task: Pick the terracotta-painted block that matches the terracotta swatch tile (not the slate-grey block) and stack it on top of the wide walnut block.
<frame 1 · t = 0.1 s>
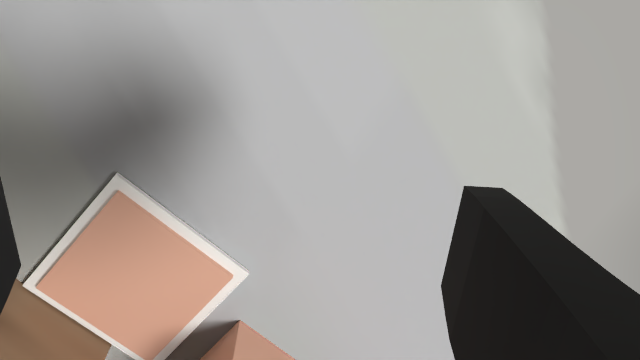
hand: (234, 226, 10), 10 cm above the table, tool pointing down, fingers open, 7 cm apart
walnut base block: (3, 344, 23), on the table
terracotta swatch tile: (137, 276, 22), on the table
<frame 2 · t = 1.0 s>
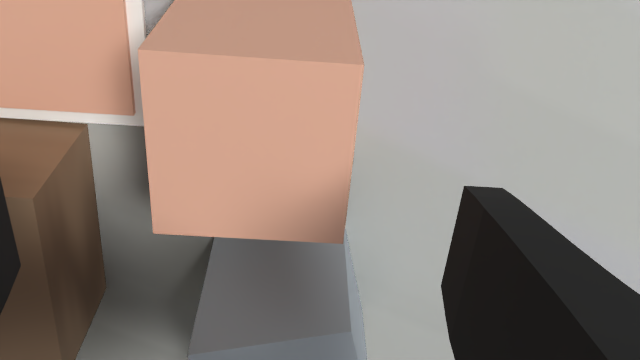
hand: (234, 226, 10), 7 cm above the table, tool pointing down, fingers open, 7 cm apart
slate grey block: (291, 271, 20), on the table
terracotta swatch tile: (28, 12, 15), on the table
terracotta block: (267, 64, 16), on the table
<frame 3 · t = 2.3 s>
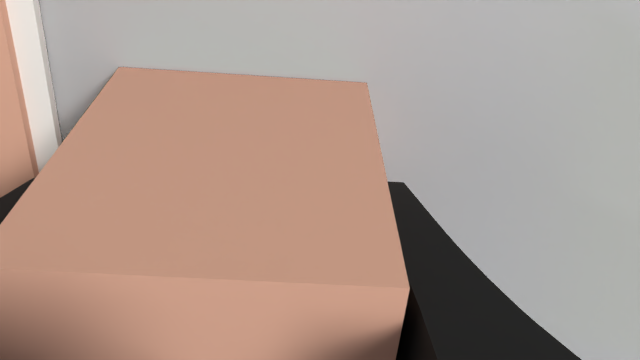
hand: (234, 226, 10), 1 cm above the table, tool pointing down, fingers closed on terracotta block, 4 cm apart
terracotta block: (243, 180, 11), on the table, touching gripper
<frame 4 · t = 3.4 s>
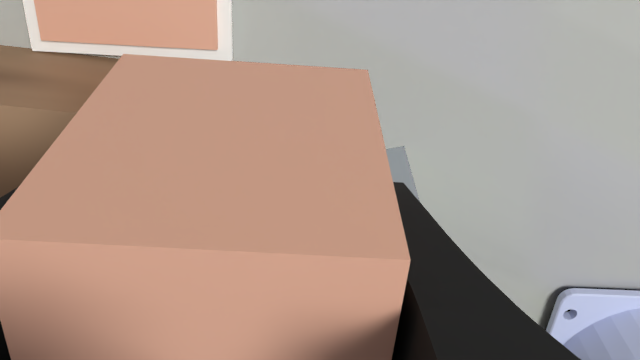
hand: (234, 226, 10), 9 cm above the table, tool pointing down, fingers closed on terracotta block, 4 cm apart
slate grey block: (353, 206, 21), on the table
walnut base block: (83, 140, 20), on the table
terracotta block: (245, 167, 11), point 8 cm above the table, touching gripper
when the fingers open (7 cm above the table, at t = 4.7 s): terracotta block drops 1 cm, resting on walnut base block.
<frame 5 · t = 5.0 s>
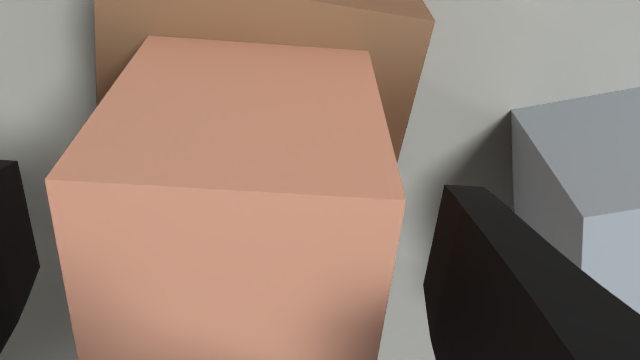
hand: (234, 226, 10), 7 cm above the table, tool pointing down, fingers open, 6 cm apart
slate grey block: (584, 160, 17), on the table
walnut base block: (263, 70, 15), on the table, touching terracotta block
terracotta block: (256, 140, 12), point 4 cm above the table, touching walnut base block
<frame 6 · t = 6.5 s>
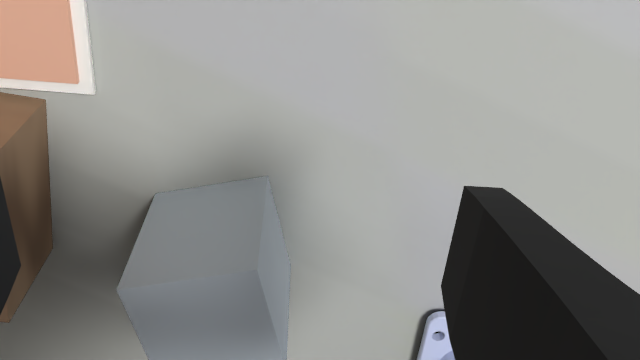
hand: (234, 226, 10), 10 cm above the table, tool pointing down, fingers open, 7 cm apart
slate grey block: (225, 230, 22), on the table
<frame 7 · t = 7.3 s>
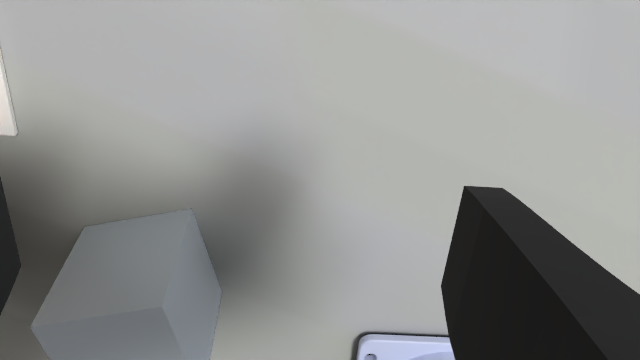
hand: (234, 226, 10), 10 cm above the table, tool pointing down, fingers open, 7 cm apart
slate grey block: (156, 260, 23), on the table
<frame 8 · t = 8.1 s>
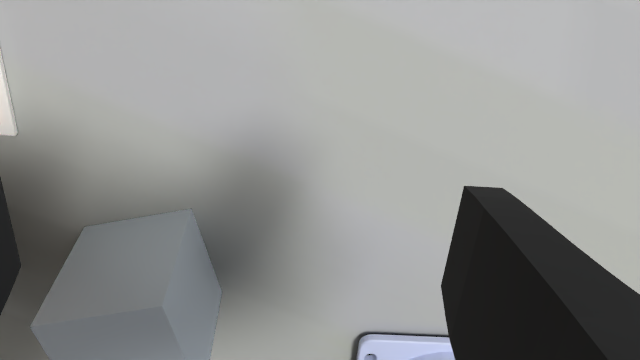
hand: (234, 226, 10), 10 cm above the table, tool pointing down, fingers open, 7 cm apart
slate grey block: (156, 260, 23), on the table
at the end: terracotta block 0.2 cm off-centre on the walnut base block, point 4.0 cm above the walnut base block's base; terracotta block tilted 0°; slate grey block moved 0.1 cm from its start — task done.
